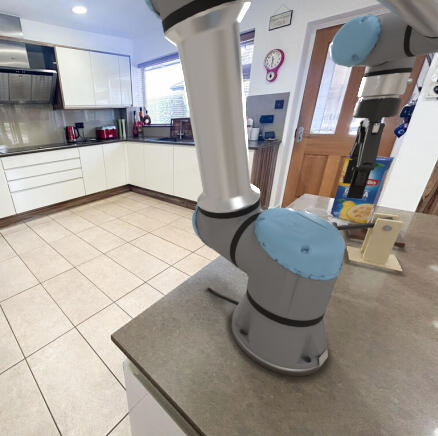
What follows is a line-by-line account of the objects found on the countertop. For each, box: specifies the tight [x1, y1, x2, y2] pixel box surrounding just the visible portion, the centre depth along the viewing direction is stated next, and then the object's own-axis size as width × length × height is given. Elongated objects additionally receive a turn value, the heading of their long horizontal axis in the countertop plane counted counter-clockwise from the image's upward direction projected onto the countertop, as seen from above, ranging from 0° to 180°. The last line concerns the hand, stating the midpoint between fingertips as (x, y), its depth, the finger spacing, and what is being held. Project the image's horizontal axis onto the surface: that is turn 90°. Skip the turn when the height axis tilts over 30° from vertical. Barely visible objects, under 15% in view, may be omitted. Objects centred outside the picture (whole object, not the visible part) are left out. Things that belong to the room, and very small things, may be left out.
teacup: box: [303, 207, 334, 223], centre depth 83 cm, size 10×10×5 cm
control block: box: [347, 223, 406, 248], centre depth 72 cm, size 12×9×4 cm
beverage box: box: [330, 155, 395, 224], centre depth 83 cm, size 7×11×22 cm, turn 37°
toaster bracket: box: [346, 211, 404, 272], centre depth 60 cm, size 10×8×13 cm
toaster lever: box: [330, 217, 393, 231], centre depth 61 cm, size 12×6×2 cm, turn 56°
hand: (351, 190), depth 60 cm, fingers open, 13 cm apart
